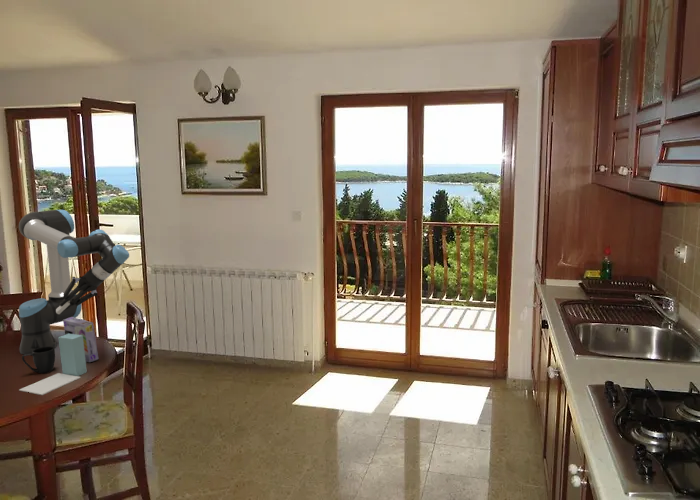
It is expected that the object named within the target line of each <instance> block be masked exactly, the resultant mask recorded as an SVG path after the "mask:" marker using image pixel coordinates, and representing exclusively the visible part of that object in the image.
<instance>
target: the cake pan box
mask: <svg viewBox="0 0 700 500" xmlns="http://www.w3.org/2000/svg"><path fill="white" fill-rule="evenodd" d="M62 322H63V330H64V335H66V334H76V335H83V343H84V352H85V361H86V363H87V362H88V363H91V362H95V361H99V360H100V359H99V358H100V357H99V353H98V345H97V339H96V332H95V326H94V322H92V321H88V320H85V319H83V318H82V319H81V318H77V317H76V318H74V317H70V318H67V319H64V320H63V321H62Z"/></svg>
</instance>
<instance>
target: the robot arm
mask: <svg viewBox="0 0 700 500" xmlns="http://www.w3.org/2000/svg"><path fill="white" fill-rule="evenodd" d="M74 229H75V222H74V219H73V216H72V215H71V214H70V213H69V211H67V210H65V209H51V210H42V211H41V210H40V211H32V212H29V213H26V214H25V215H24V216H22V217H21V219H20V221H19V223H18V230H19V233H20V234H21V236H23V237H24V238H26V239H28V240H30V241H38V242H40V243H42V244H45V245H46V252H47V259H48V271H49V279H50V280H49V281H50V289H51V290H50V292H49V293H48V295H47V298H48V300H47V299H46V298H43V297H41V298H36V299H35V298H33V299H31V300H27V301H24V302H23V303H21V304H20V305H19V307H18V316H19V322H20V329H21V341H20V345H19V348H18V349H19V353H20V355H25V354H32V351H33V350H34V349H37V348H40V347H47V346H51V347H54V350H55V349H56V348H57V341H56V339H55V338H54V336H53V334H52V331H51V325H54V324H58V323H61V322H63V320H64V319H67V318H70V317H74V318H77V317H78V316H79V315H80V314H81V311H82V304H83V303H85V302H86V301H88V300H90V299H91V298H94V297H98V291H97V289H98V287H99V286H100V285H101V284H102V283H104V281H106V280H107V279H108V278H109V277H110V276H111V275H112V274H113V273H114V272H116V270H117V269H119V268H120V267H121V266H122V265H124V263H125V262H126V261H127V260H128V259H129V258H130V253H129V251H128V250H127V249H126V248H125V247H124V246H122V245H121V244H115V243H114V242H113V240H112V239H111V237H110V236H109V234H108V233H106V231H105V230H104V229H95V230H94V231H91V232H90V233H89V235H88V236H84V237H83V236H82V237H74V236H72V235H71V234H72V233H73V232H74ZM92 254H99V256H100V257H101V259H99V260H98V262H96V263H95V264H94V265H93V266H92V267H91V268H90V269H89V270H88V271H87V272H85V273H84V274H83V275H82V276H79V277H75V276H72V277H71V272H70V271H71V270H70V263H69V258H71V259H72V258H74V257H75V258H76V257H82V256H86V255H92ZM77 283H78V284H77ZM76 284H77V285H76ZM75 285H76V287H75ZM74 287H75V288H74ZM73 288H74V289H73Z"/></svg>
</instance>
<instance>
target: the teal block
mask: <svg viewBox="0 0 700 500" xmlns="http://www.w3.org/2000/svg"><path fill="white" fill-rule="evenodd" d="M57 338H58V347H59V354H60V363H61V370H62V371H61V373H62V374H67V375H73V376H78V377H80V376H81V375H84V374H86V373H87V361H85V352H84V343H83V335H76V334H66V335H65V334H63V335H61V336H58V337H57Z"/></svg>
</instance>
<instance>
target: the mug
mask: <svg viewBox="0 0 700 500" xmlns="http://www.w3.org/2000/svg"><path fill="white" fill-rule="evenodd" d="M26 356H32V361H33V364H34V367H35V368H34V367H32V366H30V364H29V363H28V362H27V361H26V359H25V357H26ZM21 359H22V360H21V361H23V363H24V364H25V365H26V366H27V367H28V368H29V369H30V370H31V371H32V372H33V373H38V374H47V373H51V372H53V371H54V368H55V361H56V352H55V349H54V347H51V346H47V347H40V348H37V349H34V350H33V351H32V354H25V355H24V354H22V356H21Z"/></svg>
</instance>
